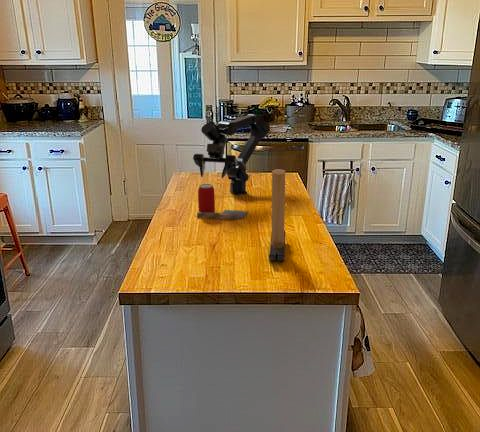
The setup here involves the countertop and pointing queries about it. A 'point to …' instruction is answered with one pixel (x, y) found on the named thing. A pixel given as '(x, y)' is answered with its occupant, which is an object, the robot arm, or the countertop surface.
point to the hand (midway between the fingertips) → (211, 177)
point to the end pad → (238, 213)
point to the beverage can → (206, 198)
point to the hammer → (278, 216)
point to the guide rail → (216, 215)
